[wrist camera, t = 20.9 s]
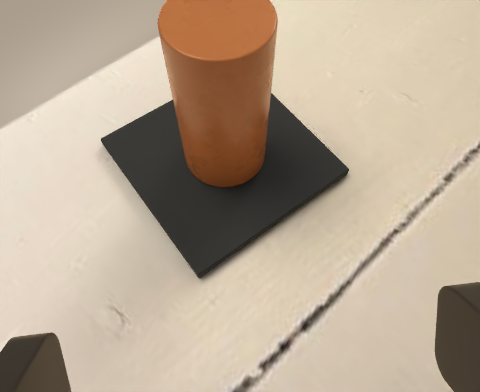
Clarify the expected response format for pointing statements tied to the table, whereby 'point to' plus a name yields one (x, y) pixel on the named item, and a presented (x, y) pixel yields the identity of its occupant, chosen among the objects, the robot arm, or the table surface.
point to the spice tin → (220, 83)
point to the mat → (221, 198)
